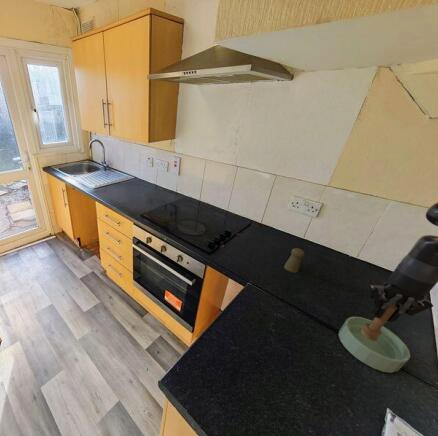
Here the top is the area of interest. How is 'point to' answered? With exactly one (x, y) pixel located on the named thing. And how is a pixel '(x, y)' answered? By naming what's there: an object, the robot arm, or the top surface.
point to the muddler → (377, 324)
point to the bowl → (374, 346)
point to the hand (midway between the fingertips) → (382, 317)
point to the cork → (294, 260)
